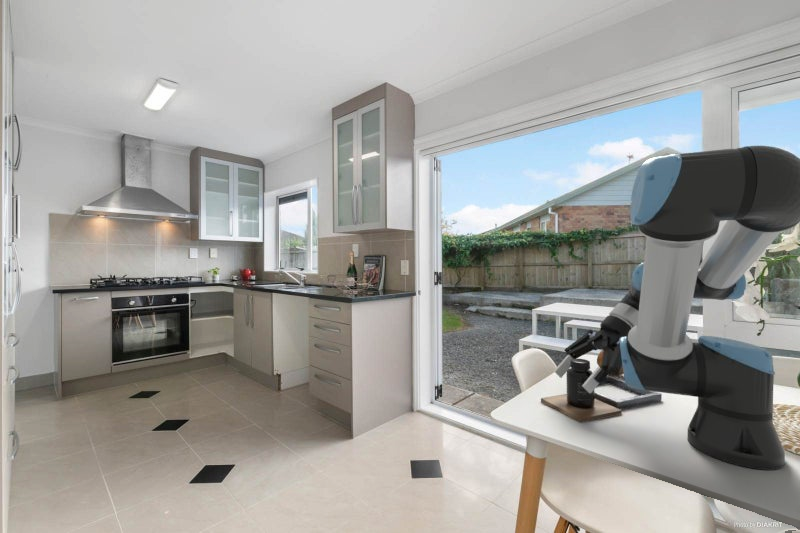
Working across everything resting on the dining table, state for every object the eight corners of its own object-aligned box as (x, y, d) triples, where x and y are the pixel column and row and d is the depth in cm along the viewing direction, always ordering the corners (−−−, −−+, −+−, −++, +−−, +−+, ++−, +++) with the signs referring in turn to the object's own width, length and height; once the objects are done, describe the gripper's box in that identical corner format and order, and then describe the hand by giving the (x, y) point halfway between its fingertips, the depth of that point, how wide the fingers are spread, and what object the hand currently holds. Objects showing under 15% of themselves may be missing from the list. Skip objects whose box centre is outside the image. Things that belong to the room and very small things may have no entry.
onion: (634, 380, 120) (634, 350, 120) (601, 378, 122) (602, 349, 122) (623, 371, 129) (623, 344, 129) (593, 369, 131) (593, 342, 131)
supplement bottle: (597, 403, 98) (597, 360, 98) (590, 411, 93) (590, 365, 93) (571, 397, 103) (571, 355, 103) (562, 404, 98) (562, 360, 98)
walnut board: (621, 414, 94) (621, 410, 94) (580, 422, 90) (580, 418, 90) (578, 395, 107) (578, 391, 107) (540, 401, 103) (540, 398, 103)
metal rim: (661, 400, 103) (661, 393, 103) (617, 409, 97) (617, 402, 97) (608, 381, 119) (608, 375, 119) (567, 388, 113) (567, 381, 113)
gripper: (667, 342, 89) (612, 408, 87) (598, 324, 112) (553, 376, 110) (649, 321, 88) (592, 388, 86) (583, 308, 111) (537, 360, 109)
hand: (570, 381), depth 98 cm, fingers open, 11 cm apart
